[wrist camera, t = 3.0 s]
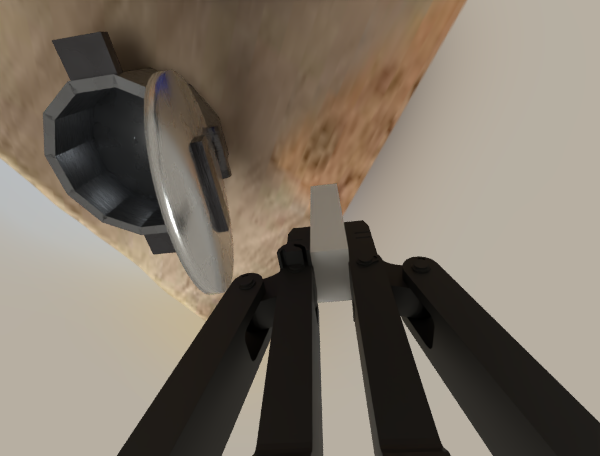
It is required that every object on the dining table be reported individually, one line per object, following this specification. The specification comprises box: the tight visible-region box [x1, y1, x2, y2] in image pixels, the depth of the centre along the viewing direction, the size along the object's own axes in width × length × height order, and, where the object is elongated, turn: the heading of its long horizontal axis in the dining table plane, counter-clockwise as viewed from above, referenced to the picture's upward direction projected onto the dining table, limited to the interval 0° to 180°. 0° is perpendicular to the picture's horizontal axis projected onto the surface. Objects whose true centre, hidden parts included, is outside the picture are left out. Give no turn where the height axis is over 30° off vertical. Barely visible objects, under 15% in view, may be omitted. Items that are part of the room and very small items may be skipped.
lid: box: [144, 70, 234, 295], centre depth 23 cm, size 16×16×2 cm
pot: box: [43, 32, 232, 254], centre depth 34 cm, size 22×18×7 cm
